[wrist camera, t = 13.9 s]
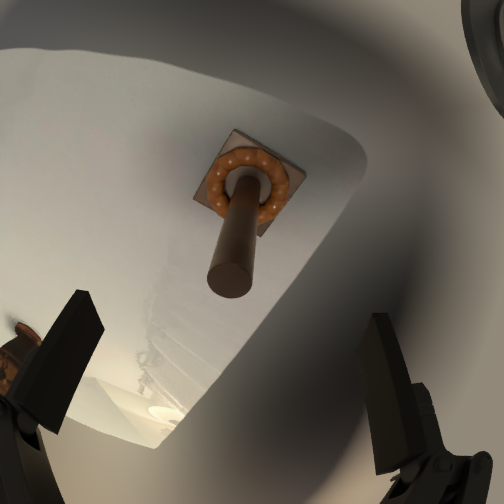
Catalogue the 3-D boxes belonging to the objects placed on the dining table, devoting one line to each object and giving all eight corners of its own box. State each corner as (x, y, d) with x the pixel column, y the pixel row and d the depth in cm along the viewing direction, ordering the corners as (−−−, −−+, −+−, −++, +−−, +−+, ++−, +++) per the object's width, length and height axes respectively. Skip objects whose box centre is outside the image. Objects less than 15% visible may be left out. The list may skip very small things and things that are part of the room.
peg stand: (305, 172, 27) (337, 265, 14) (261, 232, 31) (253, 347, 18) (234, 128, 25) (194, 181, 12) (195, 194, 29) (139, 293, 16)
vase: (8, 324, 48) (-44, 417, 23) (19, 313, 44) (-43, 421, 19) (39, 353, 52) (-6, 448, 27) (53, 347, 49) (2, 456, 24)
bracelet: (304, 175, 26) (306, 180, 24) (260, 233, 29) (259, 242, 28) (233, 131, 24) (231, 134, 22) (194, 197, 28) (191, 203, 26)
